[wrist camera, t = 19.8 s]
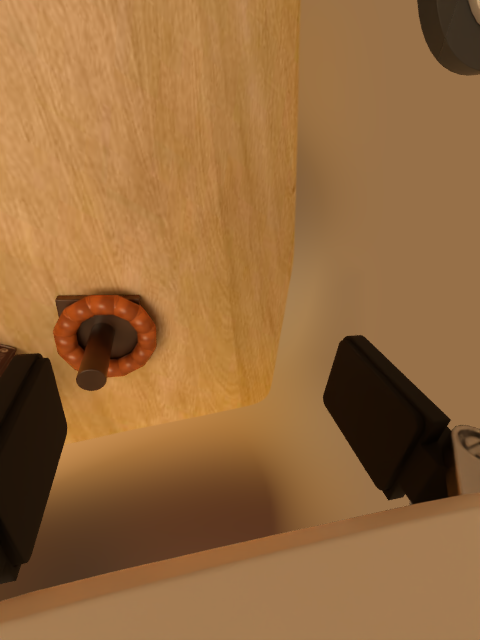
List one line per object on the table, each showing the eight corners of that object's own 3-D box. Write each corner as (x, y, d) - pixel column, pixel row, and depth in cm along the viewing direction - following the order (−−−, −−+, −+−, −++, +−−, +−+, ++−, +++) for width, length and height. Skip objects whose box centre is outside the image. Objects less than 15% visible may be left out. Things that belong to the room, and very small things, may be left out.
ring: (154, 291, 33) (155, 299, 31) (157, 366, 37) (157, 377, 36) (48, 292, 30) (42, 301, 28) (66, 372, 35) (61, 384, 33)
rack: (139, 294, 33) (136, 339, 26) (143, 354, 37) (141, 409, 30) (57, 295, 31) (28, 344, 24) (70, 358, 35) (48, 418, 28)
